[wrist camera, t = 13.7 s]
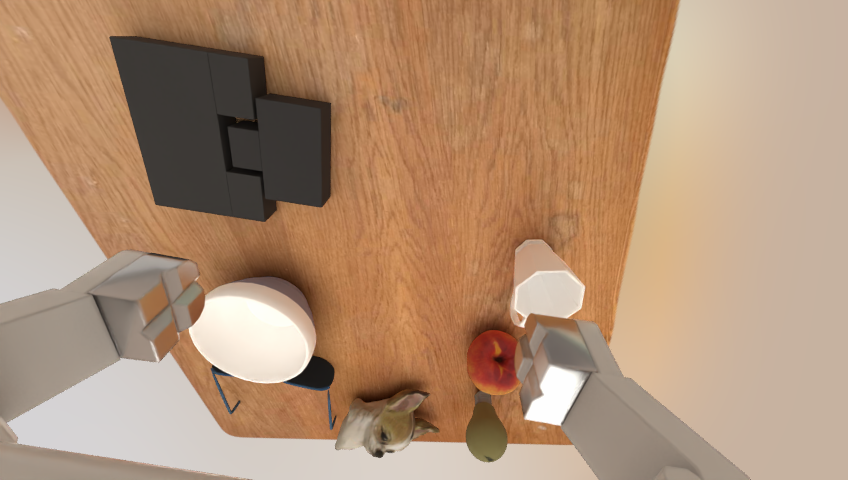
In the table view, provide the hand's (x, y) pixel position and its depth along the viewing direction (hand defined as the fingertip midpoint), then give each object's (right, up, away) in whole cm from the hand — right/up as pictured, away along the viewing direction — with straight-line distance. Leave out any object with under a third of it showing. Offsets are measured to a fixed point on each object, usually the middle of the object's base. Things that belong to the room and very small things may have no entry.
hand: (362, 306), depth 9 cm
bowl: (-18, -7, +39) cm, 44 cm away
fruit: (+11, -12, +40) cm, 43 cm away
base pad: (-20, +13, +28) cm, 37 cm away
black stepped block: (-13, +11, +28) cm, 33 cm away
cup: (+14, -1, +33) cm, 36 cm away
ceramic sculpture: (-4, -25, +49) cm, 55 cm away
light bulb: (+11, -22, +46) cm, 52 cm away
